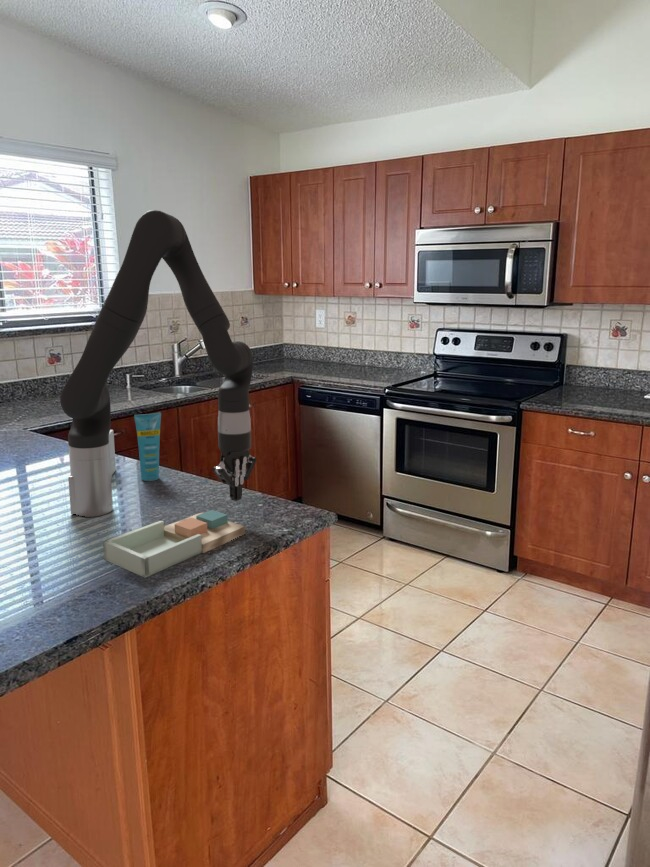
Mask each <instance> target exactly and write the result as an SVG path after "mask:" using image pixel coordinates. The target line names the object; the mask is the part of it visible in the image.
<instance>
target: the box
mask: <svg viewBox="0 0 650 867" xmlns="http://www.w3.org/2000/svg"><path fill="white" fill-rule="evenodd" d="M164 526H165V521H163V520H159V521H156V522H153V523H151V524H147V525H145V526H143V527H140V528H137V529H134V530H131V531H129V532H126V533H122V534H120V535H117V536H115V537H112V538H110V539H109V538H108V539H106V540H103V543H102V546H103V560H104V561H107V562H109V563H111V564H114V565H116V566H118V567H120V568H122V569H125V570H127V571H129V572H132V573H134V574H136V575H138V576H140V577H142V578H147V577H150V576H152V575H154V574H157V573H159V572H161V571H164V570H166V569H169V568H170V567H173V566H175V565H178V564H180V563H182V562H184V561H186V560H188V559H191V558H193V557H195V556H197V555H199V554H203V553H202V535H200V534H197V535H194V536H192V537H190V538H187V539H185V540H182V541H180V542H178V541H175V540H173V539H170V538H168V537H165V536H164Z"/></svg>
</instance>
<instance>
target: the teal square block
mask: <svg viewBox="0 0 650 867" xmlns="http://www.w3.org/2000/svg"><path fill="white" fill-rule="evenodd" d="M196 519H197V520H200V521H203V522H206V523H207V528H209V529H214V528H217V527H219V526H221V525H224V524H226V523H228V521H229V520H228V514H226V513H223V512H221V511H217V510H214V509H210V510H207V511H205V512H203V513H202V514H200V515H197V516H196Z"/></svg>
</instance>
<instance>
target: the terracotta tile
mask: <svg viewBox="0 0 650 867" xmlns="http://www.w3.org/2000/svg"><path fill="white" fill-rule="evenodd" d="M205 532H207V523H206V522H203V521H200V520H197V519H194V518H189V519H187V520H184V521H181V522H179V523H176V524H175V533H177V534H180V535H183V536H185V537H188V538H190V537H192V536H194V535H197V534H202V533H205Z"/></svg>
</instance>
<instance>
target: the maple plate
mask: <svg viewBox="0 0 650 867" xmlns="http://www.w3.org/2000/svg"><path fill="white" fill-rule="evenodd" d="M202 513H204V512H199V513H196V514H194V515H190V516H188V517H186V518H182V519H180V520H178V521H177V520H176V521H175V522H172V523H170V524H166V525H164V536H165V537H168V538H170V539H173V540H175V541H178V542H180V541H182V540H185V539H187V538H188V537H185V536H183V535H180V534H177V533H175V524H176V523H179V522H181V521H184V520H187V519H189V518H194V519H196V516H197V515H200V514H202ZM244 534H245V535H246V525H242V524H239V523H235V522H233V521H230V520H228V523H226V524H224V525H221V526H219V527H217V528H214V529H209V528H207V532H205V533H202V534H200V535H202V553H201V554H205V553H207V552H209V551H212V550H213V549H216V548H218V547H220V546H223V545H224V544H227V543H229V542H232V541H234V540H236V539H238V538H240V537H239V536H241V537H242V535H243V536H245V535H244ZM237 537H238V538H237ZM235 538H236V539H235ZM233 539H234V540H233ZM231 540H232V541H231Z"/></svg>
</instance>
